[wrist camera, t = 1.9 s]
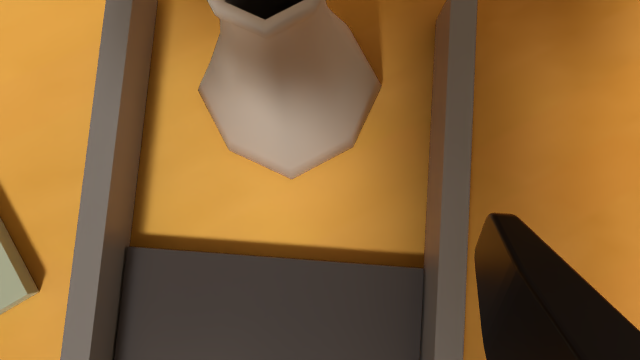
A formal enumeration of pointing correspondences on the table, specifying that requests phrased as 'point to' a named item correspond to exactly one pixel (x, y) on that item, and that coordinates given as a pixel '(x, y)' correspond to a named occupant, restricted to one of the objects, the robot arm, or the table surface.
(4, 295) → the pad
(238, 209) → the table surface
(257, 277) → the trough
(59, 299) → the table surface
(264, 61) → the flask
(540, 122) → the table surface
